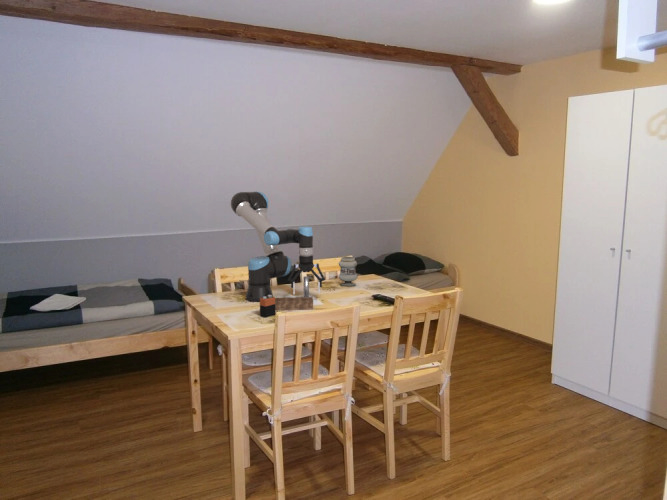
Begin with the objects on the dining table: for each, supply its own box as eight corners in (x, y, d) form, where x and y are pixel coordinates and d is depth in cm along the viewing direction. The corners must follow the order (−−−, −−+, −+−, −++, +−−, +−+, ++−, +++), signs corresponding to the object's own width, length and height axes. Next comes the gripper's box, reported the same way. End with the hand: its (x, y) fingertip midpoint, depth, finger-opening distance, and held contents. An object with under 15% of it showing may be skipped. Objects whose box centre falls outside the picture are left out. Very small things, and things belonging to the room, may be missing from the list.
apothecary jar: (335, 284, 317) (335, 256, 315) (351, 282, 323) (351, 255, 320) (344, 288, 307) (344, 259, 304) (361, 286, 312) (361, 258, 310)
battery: (275, 315, 246) (275, 295, 244) (265, 317, 241) (265, 297, 239) (269, 313, 249) (269, 294, 247) (259, 316, 243) (259, 296, 242)
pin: (303, 302, 270) (303, 277, 268) (303, 301, 273) (303, 276, 271) (309, 302, 271) (309, 277, 269) (308, 301, 274) (308, 276, 272)
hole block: (266, 310, 254) (266, 302, 253) (267, 306, 263) (267, 297, 262) (313, 309, 256) (313, 301, 255) (312, 305, 265) (312, 297, 264)
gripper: (282, 256, 264) (283, 295, 266) (329, 255, 266) (329, 294, 269) (283, 254, 271) (283, 292, 274) (328, 253, 273) (328, 291, 276)
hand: (306, 293), depth 271 cm, fingers open, 13 cm apart
